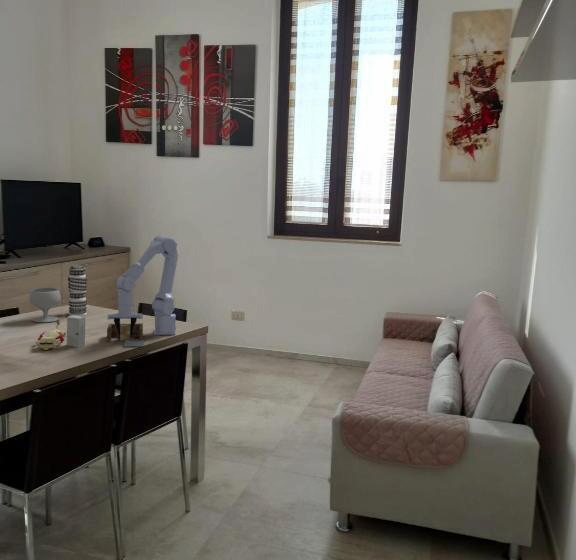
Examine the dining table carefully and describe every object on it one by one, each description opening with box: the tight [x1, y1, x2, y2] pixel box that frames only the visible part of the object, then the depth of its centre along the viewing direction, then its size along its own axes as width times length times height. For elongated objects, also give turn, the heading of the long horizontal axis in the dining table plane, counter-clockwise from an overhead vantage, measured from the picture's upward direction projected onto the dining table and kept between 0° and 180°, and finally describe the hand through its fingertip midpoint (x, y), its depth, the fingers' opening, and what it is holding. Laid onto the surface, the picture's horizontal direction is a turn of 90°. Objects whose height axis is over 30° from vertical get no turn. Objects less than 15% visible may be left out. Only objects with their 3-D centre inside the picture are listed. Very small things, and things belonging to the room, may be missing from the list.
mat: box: [123, 340, 145, 349], centre depth 231 cm, size 8×8×1 cm
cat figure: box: [35, 318, 67, 351], centre depth 228 cm, size 10×9×25 cm
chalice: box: [28, 287, 62, 323], centre depth 265 cm, size 14×14×15 cm
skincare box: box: [66, 315, 86, 348], centre depth 226 cm, size 6×4×12 cm
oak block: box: [119, 325, 131, 342], centre depth 239 cm, size 4×4×6 cm
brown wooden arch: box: [106, 322, 144, 343], centre depth 240 cm, size 14×10×6 cm
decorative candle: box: [67, 264, 88, 317], centre depth 280 cm, size 9×9×25 cm
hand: (125, 335), depth 239 cm, fingers closed on oak block, 4 cm apart
